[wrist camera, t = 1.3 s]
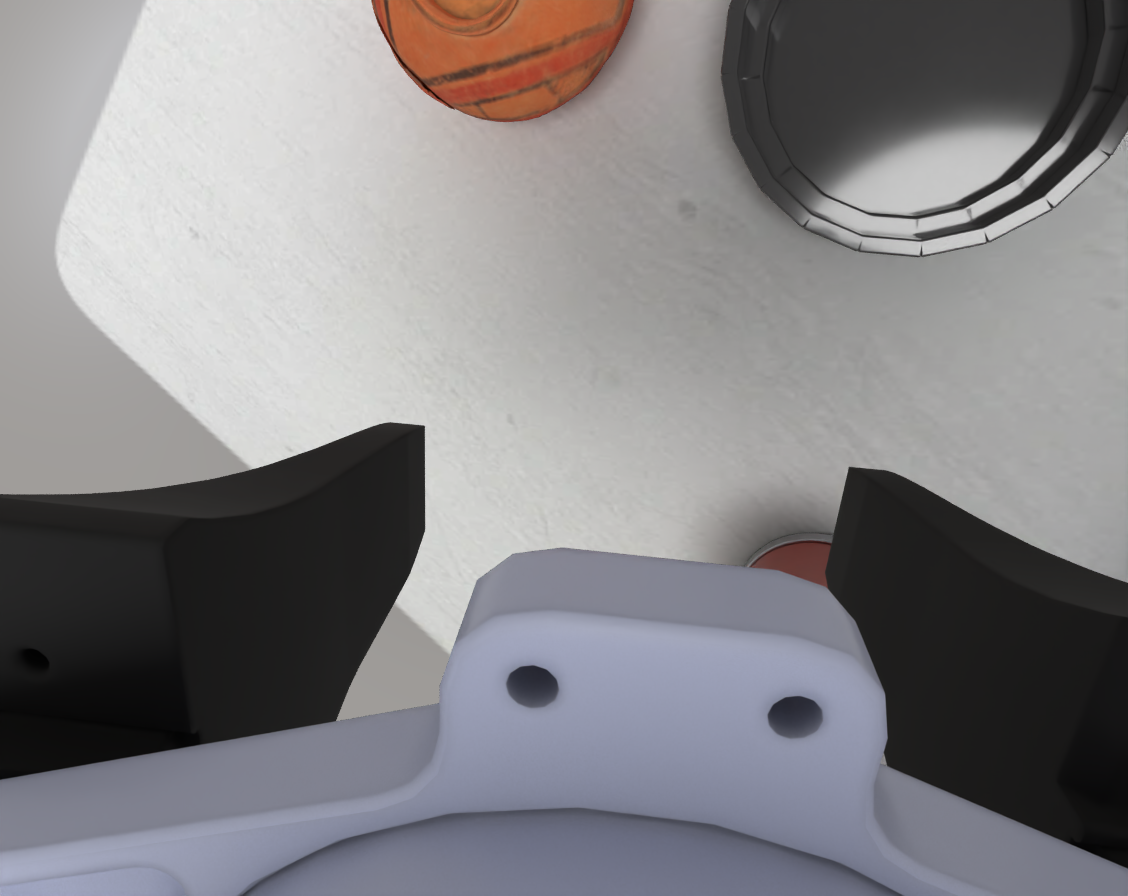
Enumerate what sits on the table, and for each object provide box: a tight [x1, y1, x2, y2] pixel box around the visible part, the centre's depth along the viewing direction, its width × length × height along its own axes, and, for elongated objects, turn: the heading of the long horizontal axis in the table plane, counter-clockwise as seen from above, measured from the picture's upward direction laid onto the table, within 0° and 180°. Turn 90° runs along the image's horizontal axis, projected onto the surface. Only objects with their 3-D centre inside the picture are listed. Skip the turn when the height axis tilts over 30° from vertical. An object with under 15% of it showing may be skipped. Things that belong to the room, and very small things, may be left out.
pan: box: [721, 0, 1128, 257], centre depth 21 cm, size 10×10×3 cm
